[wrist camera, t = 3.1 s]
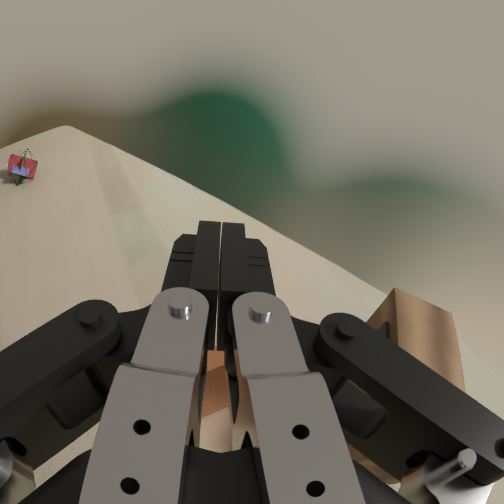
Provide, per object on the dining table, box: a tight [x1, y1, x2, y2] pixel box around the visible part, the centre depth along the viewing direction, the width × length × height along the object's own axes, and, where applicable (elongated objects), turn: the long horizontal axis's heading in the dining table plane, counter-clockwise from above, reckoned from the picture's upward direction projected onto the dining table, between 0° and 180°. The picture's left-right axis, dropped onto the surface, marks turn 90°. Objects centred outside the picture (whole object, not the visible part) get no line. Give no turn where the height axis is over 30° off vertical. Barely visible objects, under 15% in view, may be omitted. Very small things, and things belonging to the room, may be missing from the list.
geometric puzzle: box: [7, 149, 38, 185], centre depth 46 cm, size 7×7×8 cm
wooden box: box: [346, 288, 465, 484], centre depth 29 cm, size 12×20×12 cm, turn 162°
